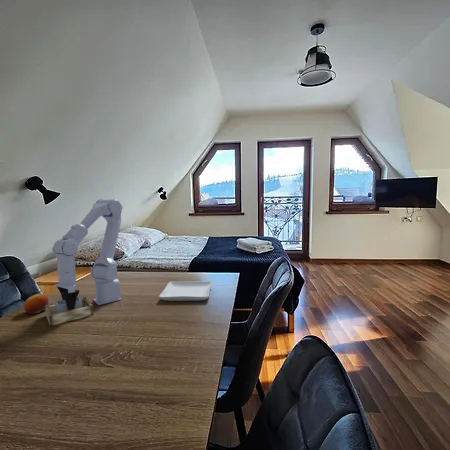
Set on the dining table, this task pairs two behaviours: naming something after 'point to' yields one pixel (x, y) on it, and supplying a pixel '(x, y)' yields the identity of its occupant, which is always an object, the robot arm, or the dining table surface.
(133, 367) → the dining table surface
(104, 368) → the dining table surface
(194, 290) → the salad plate
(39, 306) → the fruit
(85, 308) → the pine crate
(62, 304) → the small crate
